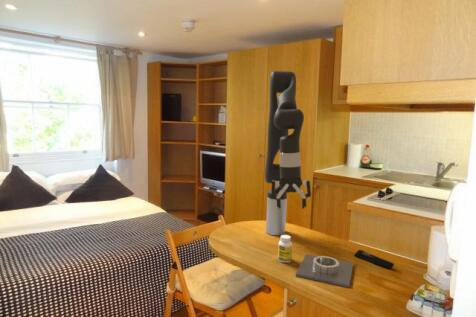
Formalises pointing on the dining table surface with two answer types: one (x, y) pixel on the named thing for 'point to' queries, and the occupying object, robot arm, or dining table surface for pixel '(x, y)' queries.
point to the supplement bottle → (285, 249)
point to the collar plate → (326, 270)
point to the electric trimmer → (374, 259)
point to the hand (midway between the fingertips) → (291, 208)
